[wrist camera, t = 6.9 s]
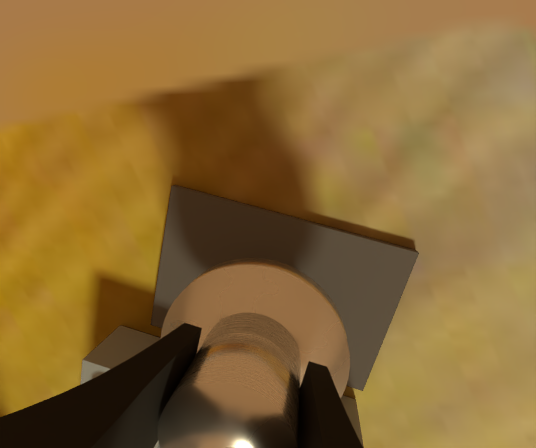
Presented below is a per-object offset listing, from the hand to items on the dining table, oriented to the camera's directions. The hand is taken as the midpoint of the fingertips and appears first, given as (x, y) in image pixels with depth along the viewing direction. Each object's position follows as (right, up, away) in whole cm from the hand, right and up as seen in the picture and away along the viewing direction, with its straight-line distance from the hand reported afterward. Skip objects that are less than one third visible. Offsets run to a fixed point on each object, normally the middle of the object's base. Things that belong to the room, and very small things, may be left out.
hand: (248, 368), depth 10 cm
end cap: (0, +1, +4) cm, 4 cm away
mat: (+1, +1, +6) cm, 6 cm away
